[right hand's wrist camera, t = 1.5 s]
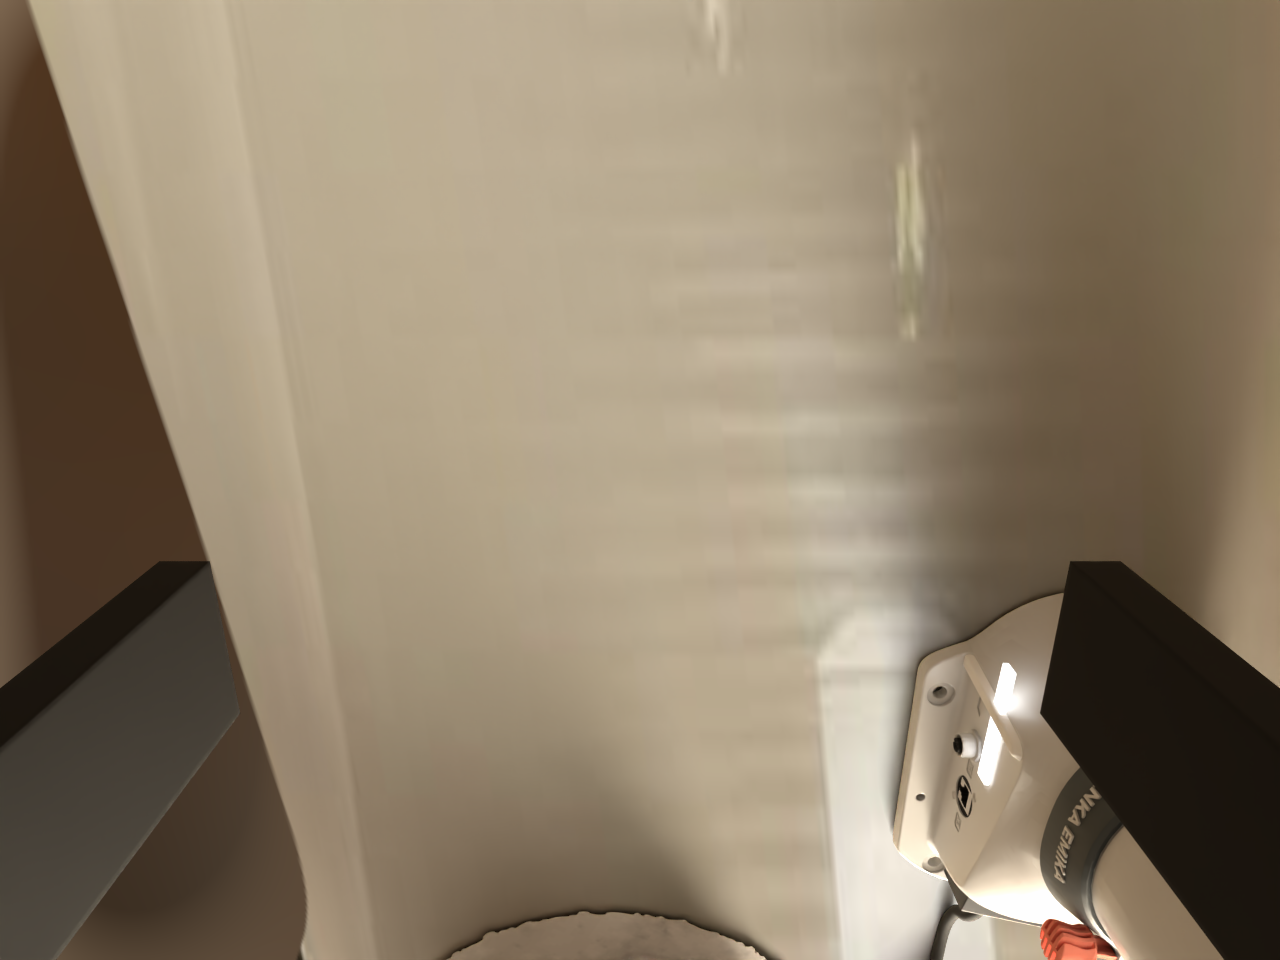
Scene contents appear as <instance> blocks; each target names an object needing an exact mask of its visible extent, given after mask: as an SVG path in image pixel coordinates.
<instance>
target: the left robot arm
mask: <svg viewBox="0 0 1280 960" xmlns="http://www.w3.org/2000/svg"><path fill="white" fill-rule="evenodd" d="M1063 595H1064V593H1060V594H1055V595H1051V596H1047V597H1044V598H1040V599H1038V600H1035V601H1032V602H1029V603H1027V604H1025V605H1023V606H1020V607H1018V608H1017V609H1015V610H1013V611H1011V612H1009V613H1008V614H1006V615H1004V616H1003V617H1001V618H1000V619H998V620H997V621H995V622H994V623H993V624H991V625H990V626H989V627H987V628H986V629H985V630H983V631H982V632H981V633H979V634H978V635H976V636H975V637H973V638H971V639H970V640H968V641H965V642H961V643H958V644H955V645H952V646H949V647H946V648H943V649H940V650H938V651H936V652H933V653H931V654H930V655H928V656H927V657H925V658H924V659H923V660H922V661H921V663H920V665H919V667H918V671H917V677H916V684H915V691H914V697H913V704H912V711H911V717H910V724H909V730H908V737H907V744H906V750H905V757H904V763H903V770H902V777H901V783H900V790H899V797H898V803H897V810H896V816H895V823H894V830H893V842H894V845H895V846H896V848H897V850H898V852H899V853H900V854H901V855H902V856H903V857H904V858H905V859H906V860H907V861H909V862H910V863H911V864H913V865H914V866H916V867H918V868H919V869H921V870H923V871H925V872H927V873H929V874H931V875H933V876H936V877H939V878H941V879H944V880H947V881H948V882H949V884H950V887H951V889H952V891H953V893H954V896H955V898H956V900H957V903H958V905H952V906H951V907H950V908H949V909H948V910H947V911H946V912H945V913H944V915H943V916H942V918H941V920H940V923H939V925H938V929H937V932H936V936H935V940H934V944H933V948H932V952H931V956H930V960H943V956H944V951H945V947H946V942H947V939H948V935H949V932H950V930H951V927H952V925H953V924H954V922H955V921H956V920H957V919H958V918H960V919H961V920H963V921H969V922H971V921H975V920H977V919H979V918H980V917H981V916H983V915H985V916H990V917H995V918H1000V919H1005V920H1009V921H1014V922H1019V923H1024V924H1029V925H1034V926H1038V927H1041V926H1042V928H1041V933H1040V939H1042V941H1041V947H1042V949H1044V955H1045V957H1048V960H1096V958H1097V957H1099V958H1105V959H1112V960H1224V959H1223V958H1222V956H1221V955H1220V954H1219V952H1218V951H1217V950H1216V948H1215V947H1214V946H1213V944H1212V943H1211V942H1210V940H1209V939H1208V938H1207V936H1206V935H1205V934H1204V932H1203V931H1202V930H1201V928H1200V927H1199V926H1198V924H1197V923H1196V922H1195V920H1194V919H1193V918H1192V916H1191V915H1190V914H1189V912H1188V911H1187V910H1186V908H1185V907H1184V906H1183V904H1182V903H1181V902H1180V900H1179V899H1178V898H1177V896H1176V895H1175V894H1174V892H1173V891H1172V889H1171V888H1170V887H1169V885H1168V884H1167V883H1166V881H1165V880H1164V879H1163V877H1162V876H1161V875H1160V873H1159V872H1158V871H1157V869H1156V868H1155V867H1154V865H1153V864H1152V863H1151V861H1150V860H1149V859H1148V857H1147V856H1146V855H1145V853H1144V852H1143V851H1142V849H1141V848H1140V847H1139V845H1138V844H1137V843H1136V841H1135V840H1134V839H1133V837H1132V836H1131V835H1130V833H1129V832H1128V831H1127V829H1126V828H1125V827H1124V825H1123V824H1122V823H1121V821H1120V820H1119V819H1118V817H1117V816H1116V815H1115V813H1114V812H1113V811H1112V809H1111V808H1110V807H1109V805H1108V804H1107V802H1106V801H1105V800H1104V798H1103V797H1102V796H1101V794H1100V793H1099V792H1098V790H1097V789H1096V788H1095V786H1094V785H1093V784H1092V782H1091V781H1090V780H1089V778H1088V777H1087V776H1086V774H1085V773H1084V772H1083V770H1082V769H1081V768H1080V766H1079V765H1078V764H1077V762H1076V761H1075V760H1074V758H1073V757H1072V756H1071V754H1070V753H1069V752H1068V750H1067V749H1066V748H1065V746H1064V745H1063V744H1062V742H1061V741H1060V740H1059V738H1058V737H1057V736H1056V734H1055V733H1054V732H1053V730H1052V729H1051V728H1050V726H1049V725H1048V724H1047V722H1046V721H1045V720H1044V718H1043V717H1042V716H1041V714H1040V710H1041V705H1042V700H1043V695H1044V690H1045V685H1046V680H1047V675H1048V670H1049V665H1050V660H1051V655H1052V650H1053V645H1054V640H1055V635H1056V630H1057V625H1058V620H1059V615H1060V610H1061V605H1062V600H1063ZM939 686H942V688H941V689H940V690H939V691H933V690H934V689H935V688H936V687H939ZM931 857H933V858H931ZM1090 929H1091V930H1092V931H1093V932H1095V933H1096V934H1098V935H1099V936H1096V935H1093V933H1092V932H1091V930H1090Z"/></svg>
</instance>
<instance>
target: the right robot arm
mask: <svg viewBox="0 0 1280 960" xmlns="http://www.w3.org/2000/svg"><path fill="white" fill-rule="evenodd" d="M239 714H240V710H239V705H238V700H237V695H236V690H235V685H234V680H233V675H232V670H231V665H230V660H229V655H228V650H227V645H226V640H225V635H224V630H223V625H222V620H221V615H220V610H219V605H218V601H217V595H216V591H215V586H214V581H213V576H212V571H211V566H210V561H159V562H158V563H157V564H156V565H154V566H153V567H152V568H151V569H149V570H148V571H147V572H146V573H144V574H143V575H142V576H141V577H139V578H138V579H137V580H136V581H134V582H133V583H132V584H130V585H129V586H128V587H127V588H125V589H124V590H123V591H122V592H121V593H119V594H118V595H117V596H115V597H114V598H113V599H112V600H110V601H109V602H108V603H107V604H105V605H104V606H103V607H102V608H100V609H99V610H98V611H97V612H95V613H94V614H93V615H92V616H90V617H89V618H88V619H87V620H85V621H84V622H83V623H82V624H80V625H79V626H78V627H77V628H75V629H74V630H73V631H72V632H70V633H69V634H68V635H67V636H65V637H64V638H63V639H62V640H60V641H59V642H58V643H56V644H55V645H54V646H53V647H51V648H50V649H49V650H48V651H46V652H45V653H44V654H43V655H41V656H40V657H39V658H38V659H36V660H35V661H34V662H33V663H32V664H30V665H29V666H28V667H26V668H25V669H24V670H23V671H21V672H20V673H19V674H18V675H16V676H15V677H14V678H13V679H11V680H10V681H9V682H8V683H6V684H5V685H4V686H3V687H1V688H0V960H56V959H57V958H58V956H59V955H60V954H61V952H62V951H63V950H64V948H65V947H66V946H67V944H68V943H69V942H70V940H71V939H72V938H73V936H74V935H75V934H76V932H77V931H78V930H79V928H80V927H81V926H82V924H83V923H84V922H85V920H86V919H87V918H88V916H89V915H90V913H91V912H92V911H93V909H94V908H95V907H96V906H97V904H98V903H99V902H100V900H101V899H102V897H103V896H104V895H105V894H106V892H107V891H108V889H109V888H110V887H111V885H112V884H113V883H114V881H115V880H116V879H117V877H118V876H119V875H120V873H121V872H122V871H123V869H124V868H125V867H126V865H127V864H128V863H129V861H130V860H131V859H132V857H133V856H134V855H135V853H136V852H137V851H138V849H139V848H140V847H141V845H142V844H143V843H144V841H145V840H146V839H147V837H148V836H149V835H150V833H151V832H152V831H153V829H154V828H155V827H156V825H157V824H158V823H159V821H160V820H161V819H162V817H163V816H164V815H165V813H166V812H167V811H168V809H169V808H170V807H171V805H172V804H173V802H174V801H175V800H176V798H177V797H178V796H179V794H180V793H181V792H182V790H183V789H184V788H185V786H186V785H187V784H188V782H189V781H190V780H191V778H192V777H193V776H194V774H195V773H196V772H197V770H198V769H199V768H200V766H201V765H202V764H203V762H204V761H205V760H206V758H207V757H208V756H209V754H210V753H211V752H212V750H213V749H214V748H215V746H216V745H217V744H218V742H219V741H220V740H221V738H222V737H223V736H224V734H225V733H226V732H227V730H228V729H229V728H230V726H231V725H232V724H233V722H234V721H235V719H236V718H237V717H238V715H239ZM1040 714H1041V716H1042V717H1043V718H1044V720H1045V721H1046V722H1047V724H1048V725H1049V726H1050V728H1051V729H1052V730H1053V732H1054V733H1055V734H1056V736H1057V737H1058V738H1059V740H1060V741H1061V742H1062V744H1063V745H1064V746H1065V748H1066V749H1067V750H1068V752H1069V753H1070V754H1071V756H1072V757H1073V758H1074V760H1075V761H1076V762H1077V764H1078V765H1079V766H1080V768H1081V769H1082V770H1083V772H1084V773H1085V774H1086V776H1087V777H1088V778H1089V780H1090V781H1091V782H1092V784H1093V785H1094V786H1095V788H1096V789H1097V790H1098V792H1099V793H1100V794H1101V796H1102V797H1103V798H1104V800H1105V801H1106V802H1107V804H1108V805H1109V807H1110V808H1111V809H1112V811H1113V812H1114V813H1115V815H1116V816H1117V817H1118V819H1119V820H1120V821H1121V823H1122V824H1123V825H1124V827H1125V828H1126V829H1127V831H1128V832H1129V833H1130V835H1131V836H1132V837H1133V839H1134V840H1135V841H1136V843H1137V844H1138V845H1139V847H1140V848H1141V849H1142V851H1143V852H1144V853H1145V855H1146V856H1147V857H1148V859H1149V860H1150V861H1151V863H1152V864H1153V865H1154V867H1155V868H1156V869H1157V871H1158V872H1159V873H1160V875H1161V876H1162V877H1163V879H1164V880H1165V881H1166V883H1167V884H1168V885H1169V887H1170V888H1171V889H1172V891H1173V892H1174V894H1175V895H1176V896H1177V898H1178V899H1179V900H1180V902H1181V903H1182V904H1183V906H1184V907H1185V908H1186V910H1187V911H1188V912H1189V914H1190V915H1191V916H1192V918H1193V919H1194V920H1195V922H1196V923H1197V924H1198V926H1199V927H1200V928H1201V930H1202V931H1203V932H1204V934H1205V935H1206V936H1207V938H1208V939H1209V940H1210V942H1211V943H1212V944H1213V946H1214V947H1215V948H1216V950H1217V951H1218V952H1219V954H1220V955H1221V956H1222V958H1223V959H1224V960H1280V688H1279V687H1277V686H1276V685H1275V684H1274V683H1272V682H1271V681H1270V680H1269V679H1267V678H1266V677H1265V676H1264V675H1262V674H1261V673H1260V672H1259V671H1257V670H1256V669H1255V668H1254V667H1252V666H1251V665H1250V664H1249V663H1247V662H1246V661H1245V660H1244V659H1242V658H1241V657H1240V656H1239V655H1237V654H1236V653H1235V652H1234V651H1232V650H1231V649H1230V648H1229V647H1227V646H1226V645H1225V644H1224V643H1222V642H1221V641H1220V640H1218V639H1217V638H1216V637H1215V636H1213V635H1212V634H1211V633H1210V632H1208V631H1207V630H1206V629H1205V628H1203V627H1202V626H1201V625H1200V624H1198V623H1197V622H1196V621H1195V620H1193V619H1192V618H1191V617H1190V616H1188V615H1187V614H1186V613H1185V612H1183V611H1182V610H1181V609H1180V608H1178V607H1177V606H1176V605H1175V604H1173V603H1172V602H1171V601H1170V600H1168V599H1167V598H1166V597H1165V596H1163V595H1162V594H1161V593H1160V592H1158V591H1157V590H1156V589H1155V588H1153V587H1152V586H1151V585H1150V584H1148V583H1147V582H1146V581H1145V580H1143V579H1142V578H1141V577H1139V576H1138V575H1137V574H1136V573H1134V572H1133V571H1132V570H1131V569H1129V568H1128V567H1127V566H1126V565H1124V564H1123V563H1122V562H1121V561H1070V566H1069V571H1068V576H1067V581H1066V586H1065V590H1064V595H1063V600H1062V605H1061V610H1060V615H1059V620H1058V625H1057V630H1056V635H1055V640H1054V645H1053V650H1052V655H1051V660H1050V665H1049V670H1048V675H1047V680H1046V685H1045V690H1044V695H1043V700H1042V705H1041V710H1040Z"/></svg>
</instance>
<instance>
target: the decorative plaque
mask: <svg viewBox="0 0 1280 960" xmlns="http://www.w3.org/2000/svg"><path fill="white" fill-rule="evenodd" d="M754 952H755V949H754V948H753V947H752V946H749V947H745V946H744V944H743V943H742V942H735V941H734V940H733V939H729V938H727V937H725V936H720V935H719V933H717V932H709V931H706V930H703V929H700V928H698V927H696V926H695V925H692V924H689V923H688V922H687V921H686V920H668V919H665V918H664V917H662V916H658V917H653V916H650V915H647V914H646V915H644V916H641V915H640V914H639V913H635V914H634V915H630V914H626V913H620V912H607V913H606V914H605V915H595V914H591V913H589V912H587V911H582V912H579V913H578V914H577V915H570V916H568V917H565V916H563V917H554V918H551V919H543V920H541V921H540V922H537V921H535V922H532V921H528V922H526V923H523V924H521V925H520V926H518V927H517V928H511V927H510V928H509V929H508V930H501V931H500V932H499V933H496V932H492V931H491V932H489V933H487V934H485V935H484V936H483V940H482V941H480V942H478V943H477V944H474V945H471V946H469V947H468V948H463V949H462V952H459V951H457V952H455V953H453V954H452V957H451V958H449V959H446V960H765V957H763V956H760V955H759V953H758V952H757V953H754Z"/></svg>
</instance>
